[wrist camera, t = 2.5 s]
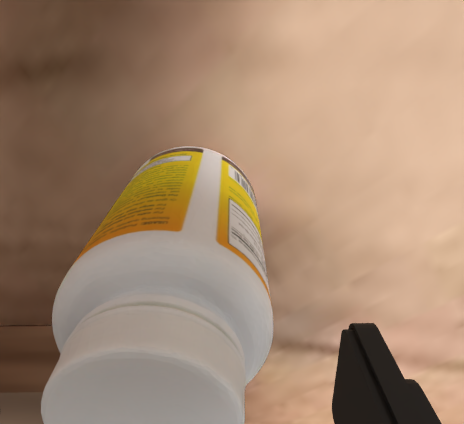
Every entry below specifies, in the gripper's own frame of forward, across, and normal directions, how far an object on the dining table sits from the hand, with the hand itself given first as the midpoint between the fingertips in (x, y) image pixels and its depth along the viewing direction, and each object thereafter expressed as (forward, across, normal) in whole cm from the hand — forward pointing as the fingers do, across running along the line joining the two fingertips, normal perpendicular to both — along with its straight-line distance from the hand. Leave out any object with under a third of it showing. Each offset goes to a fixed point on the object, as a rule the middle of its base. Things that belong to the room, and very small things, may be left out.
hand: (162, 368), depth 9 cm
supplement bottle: (+8, 0, -1) cm, 8 cm away
